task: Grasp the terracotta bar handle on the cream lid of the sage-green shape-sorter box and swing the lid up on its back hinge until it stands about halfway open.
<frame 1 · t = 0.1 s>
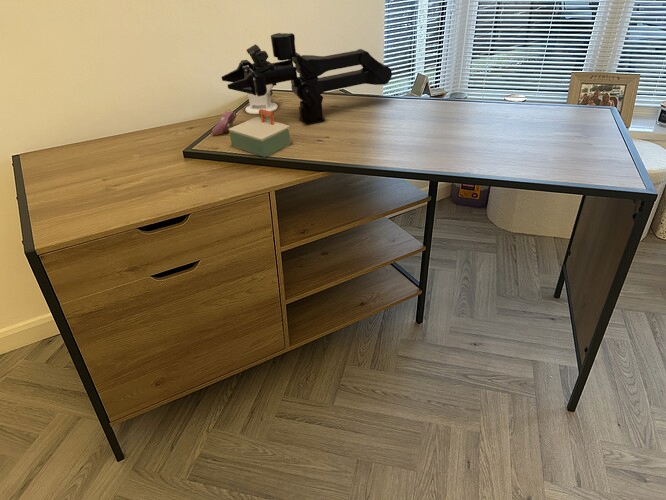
hand: (224, 82, 139), 17 cm above the table, tool horizontal, fingers open, 9 cm apart
sorter box: (261, 145, 142), on the table
lid: (258, 122, 138), point 7 cm above the table, hinge at 0.0°
purple oblong lump: (226, 130, 154), on the table
panda figurine: (262, 109, 168), on the table
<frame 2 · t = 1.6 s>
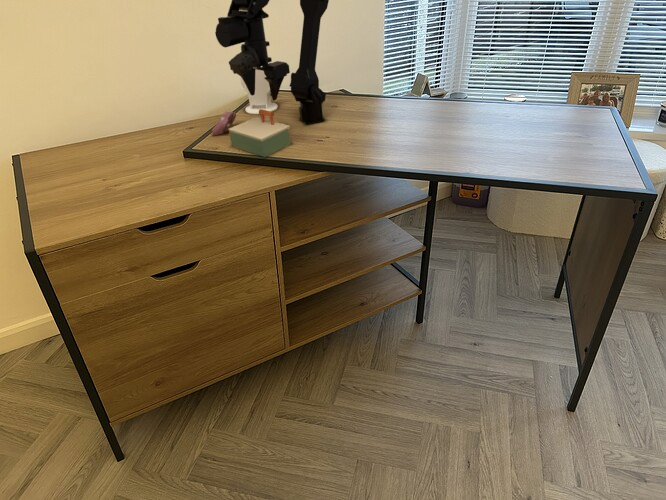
hand: (263, 97, 137), 13 cm above the table, tool pointing down, fingers open, 9 cm apart
nothing on the table moved.
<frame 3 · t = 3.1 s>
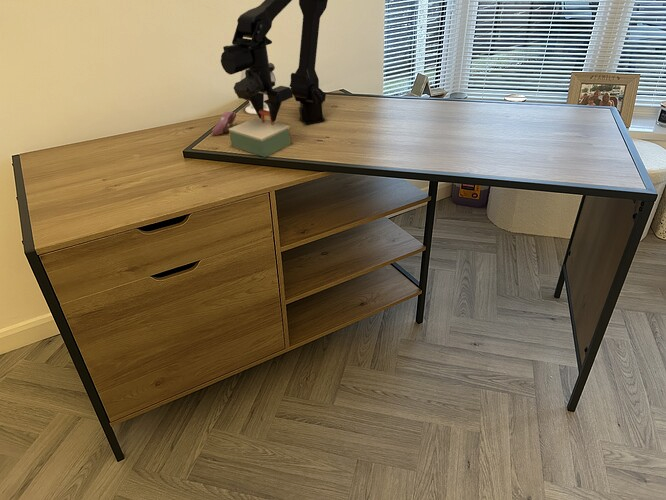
hand: (267, 119, 140), 7 cm above the table, tool pointing down, fingers closed on lid, 5 cm apart
lid: (258, 122, 138), point 7 cm above the table, hinge at 0.0°, touching gripper
everything else where it was.
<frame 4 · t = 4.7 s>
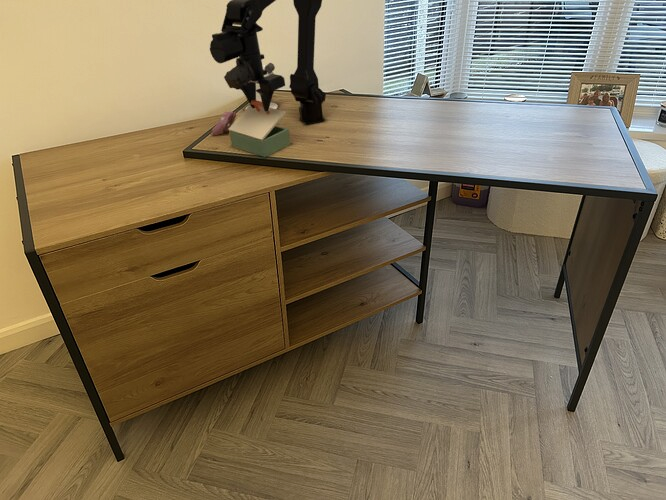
hand: (260, 109, 137), 10 cm above the table, tool pointing down, fingers closed on lid, 5 cm apart
lid: (253, 116, 136), point 9 cm above the table, hinge at 24.7°, touching gripper
everything else where it was.
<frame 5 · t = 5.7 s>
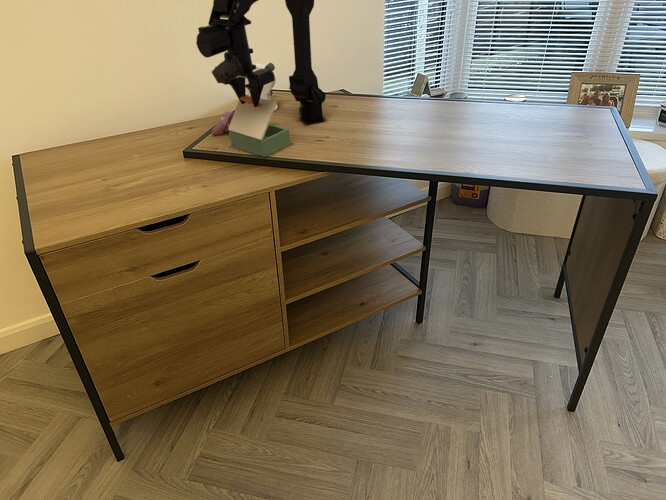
hand: (249, 105, 134), 12 cm above the table, tool pointing down, fingers closed on lid, 5 cm apart
lid: (247, 113, 134), point 11 cm above the table, hinge at 49.0°, touching gripper
everything else where it was.
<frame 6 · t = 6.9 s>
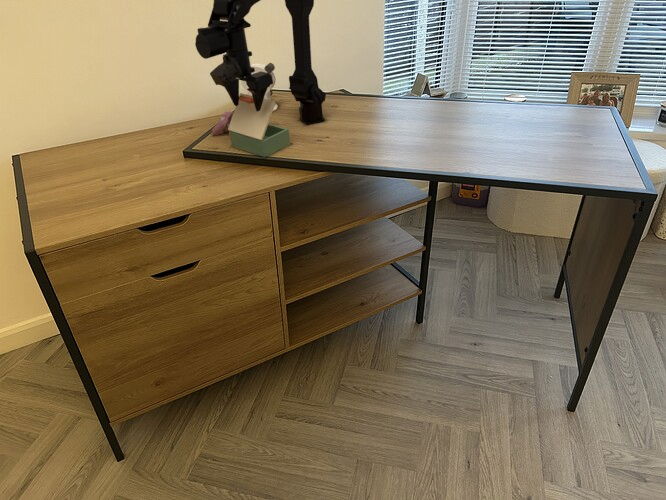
hand: (247, 108, 133), 12 cm above the table, tool pointing down, fingers open, 9 cm apart
lid: (246, 113, 134), point 11 cm above the table, hinge at 51.6°
everything else where it was.
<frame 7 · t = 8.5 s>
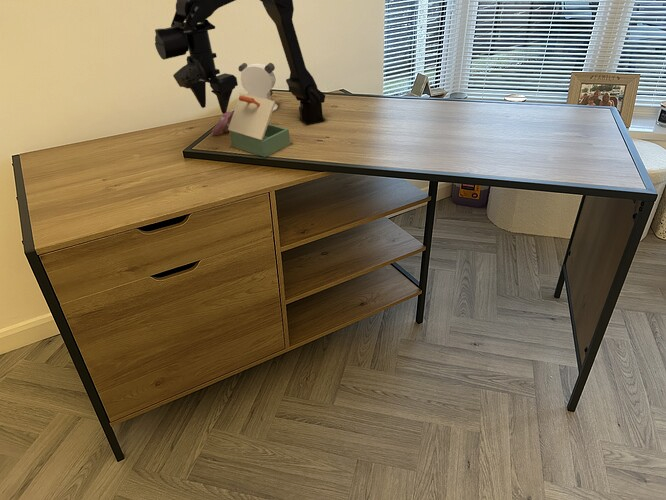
hand: (213, 110, 132), 13 cm above the table, tool pointing down, fingers open, 9 cm apart
nothing on the table moved.
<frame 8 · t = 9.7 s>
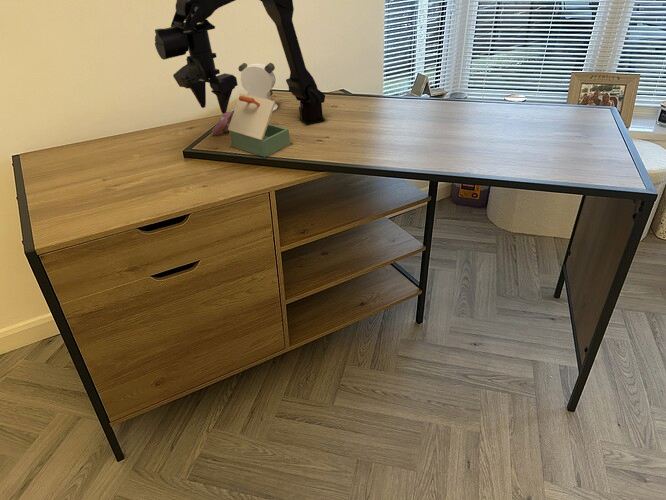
hand: (213, 110, 132), 13 cm above the table, tool pointing down, fingers open, 9 cm apart
nothing on the table moved.
at the end: lid at +52° (first picture: +0°); the gripper is holding nothing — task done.
